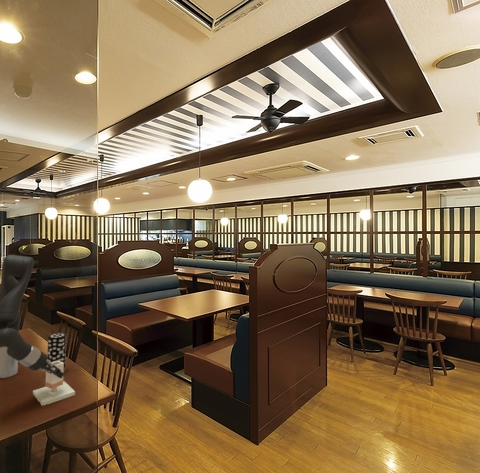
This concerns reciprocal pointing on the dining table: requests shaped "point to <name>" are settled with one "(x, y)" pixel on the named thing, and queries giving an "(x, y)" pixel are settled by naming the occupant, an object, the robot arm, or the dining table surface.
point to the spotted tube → (57, 348)
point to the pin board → (53, 393)
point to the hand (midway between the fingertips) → (58, 374)
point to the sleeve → (54, 376)
